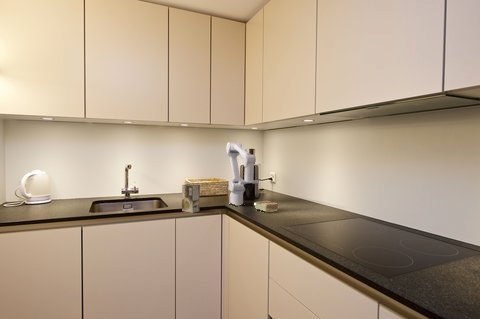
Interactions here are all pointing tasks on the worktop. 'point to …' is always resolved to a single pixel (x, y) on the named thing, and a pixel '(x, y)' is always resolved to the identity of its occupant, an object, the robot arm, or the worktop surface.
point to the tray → (261, 206)
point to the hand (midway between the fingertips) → (248, 195)
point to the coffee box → (190, 198)
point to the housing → (269, 205)
